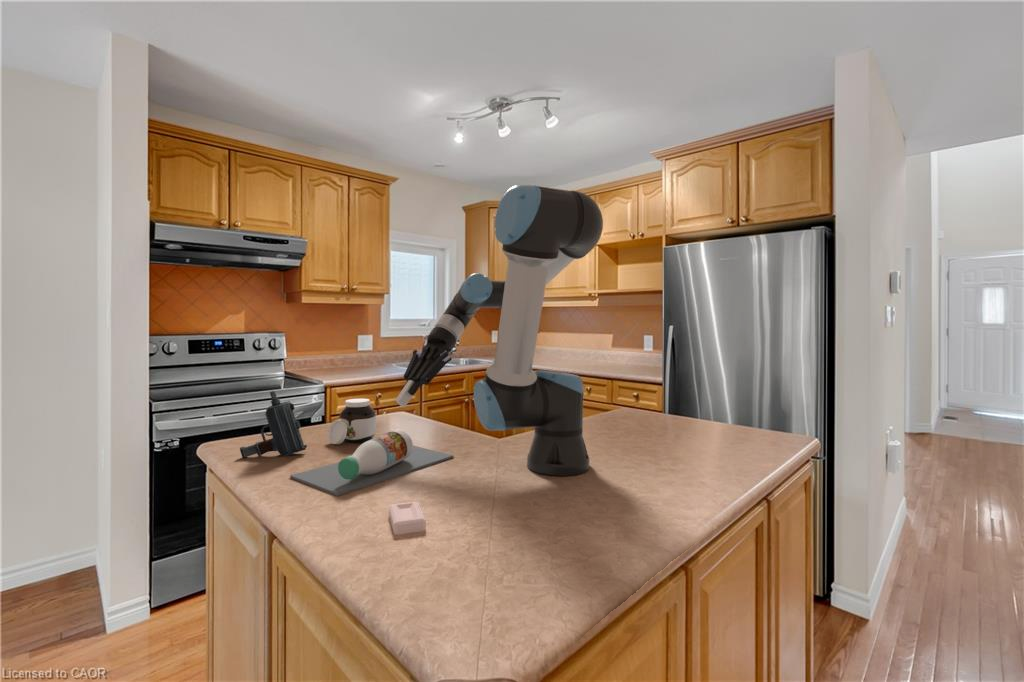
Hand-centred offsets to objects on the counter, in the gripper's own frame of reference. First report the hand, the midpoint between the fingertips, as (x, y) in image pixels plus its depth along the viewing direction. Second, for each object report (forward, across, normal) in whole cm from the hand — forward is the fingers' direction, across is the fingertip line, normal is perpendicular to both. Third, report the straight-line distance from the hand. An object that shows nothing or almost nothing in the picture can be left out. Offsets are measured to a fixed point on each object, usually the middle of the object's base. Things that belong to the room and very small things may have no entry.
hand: (400, 403), depth 125 cm
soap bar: (+28, -29, +7) cm, 41 cm away
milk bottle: (+8, -1, -6) cm, 10 cm away
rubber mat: (+15, 0, -5) cm, 16 cm away
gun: (+22, +29, +2) cm, 37 cm away
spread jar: (+8, +25, -13) cm, 29 cm away
